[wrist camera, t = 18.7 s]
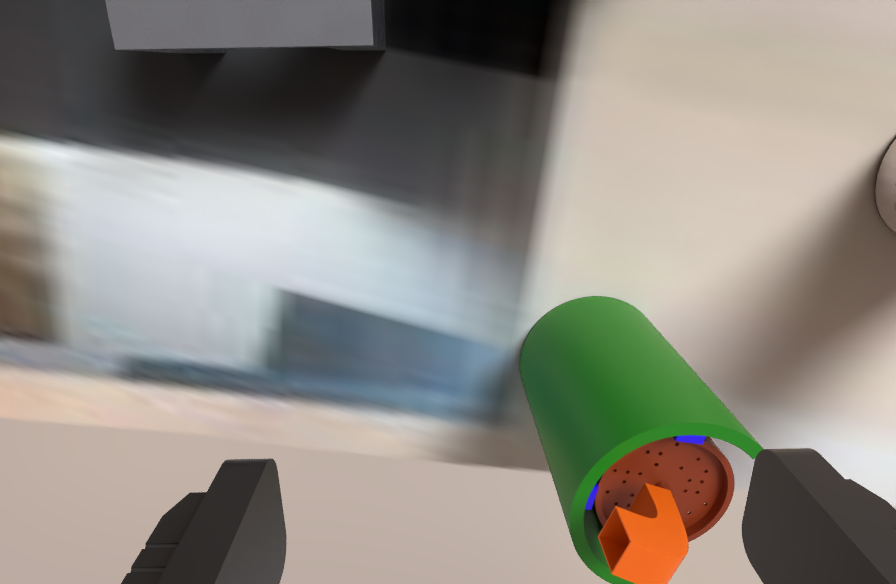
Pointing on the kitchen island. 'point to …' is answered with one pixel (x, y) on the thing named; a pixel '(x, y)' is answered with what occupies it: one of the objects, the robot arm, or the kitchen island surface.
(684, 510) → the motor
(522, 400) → the kitchen island surface
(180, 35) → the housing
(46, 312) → the kitchen island surface
